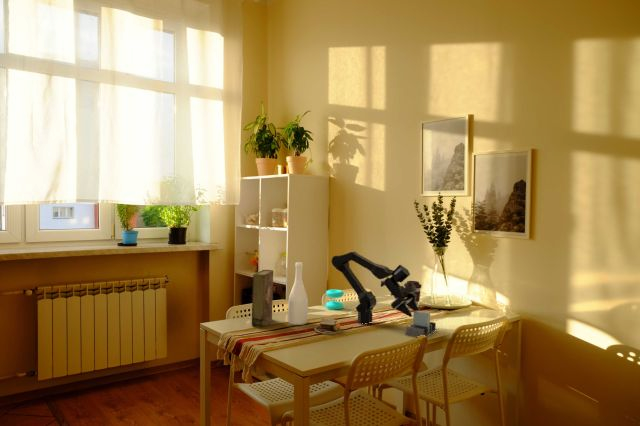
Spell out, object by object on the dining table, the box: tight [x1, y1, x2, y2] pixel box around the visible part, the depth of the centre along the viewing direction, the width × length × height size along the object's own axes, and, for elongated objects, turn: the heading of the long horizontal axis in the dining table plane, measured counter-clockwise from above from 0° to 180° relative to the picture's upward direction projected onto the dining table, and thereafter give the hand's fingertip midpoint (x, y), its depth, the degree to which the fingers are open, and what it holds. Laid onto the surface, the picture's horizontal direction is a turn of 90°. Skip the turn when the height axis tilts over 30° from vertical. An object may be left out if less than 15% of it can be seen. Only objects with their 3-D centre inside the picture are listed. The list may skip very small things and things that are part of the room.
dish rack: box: [404, 321, 437, 338], centre depth 240 cm, size 9×16×4 cm, turn 147°
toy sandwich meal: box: [314, 317, 342, 335], centre depth 239 cm, size 12×14×5 cm
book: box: [251, 269, 274, 327], centre depth 250 cm, size 16×6×25 cm, turn 168°
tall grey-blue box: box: [412, 310, 431, 332], centre depth 240 cm, size 7×3×9 cm, turn 58°
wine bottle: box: [287, 261, 309, 326], centre depth 252 cm, size 10×10×30 cm
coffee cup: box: [403, 280, 422, 305], centre depth 297 cm, size 10×10×15 cm
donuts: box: [325, 289, 345, 311], centre depth 288 cm, size 10×10×10 cm
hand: (415, 314), depth 242 cm, fingers open, 9 cm apart
